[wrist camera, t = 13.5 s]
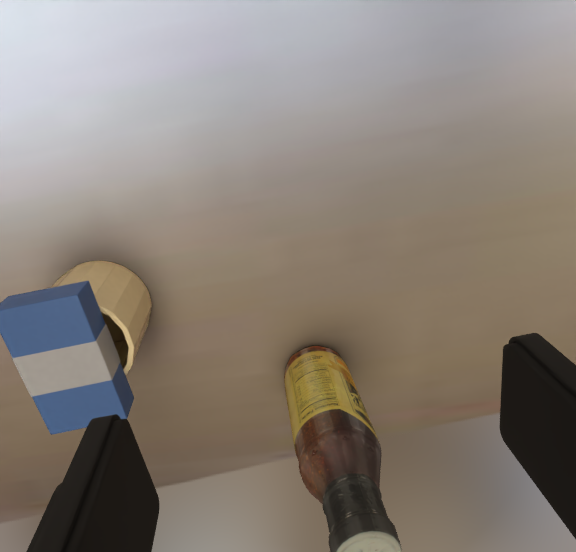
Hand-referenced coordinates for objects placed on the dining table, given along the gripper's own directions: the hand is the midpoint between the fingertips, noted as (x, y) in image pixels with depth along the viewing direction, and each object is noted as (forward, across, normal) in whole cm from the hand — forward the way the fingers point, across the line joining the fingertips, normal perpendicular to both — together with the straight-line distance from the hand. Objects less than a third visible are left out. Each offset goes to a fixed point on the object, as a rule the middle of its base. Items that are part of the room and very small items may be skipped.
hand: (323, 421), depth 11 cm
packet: (+20, +16, +8) cm, 27 cm away
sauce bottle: (+28, -1, +18) cm, 33 cm away
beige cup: (+28, +16, +8) cm, 33 cm away
